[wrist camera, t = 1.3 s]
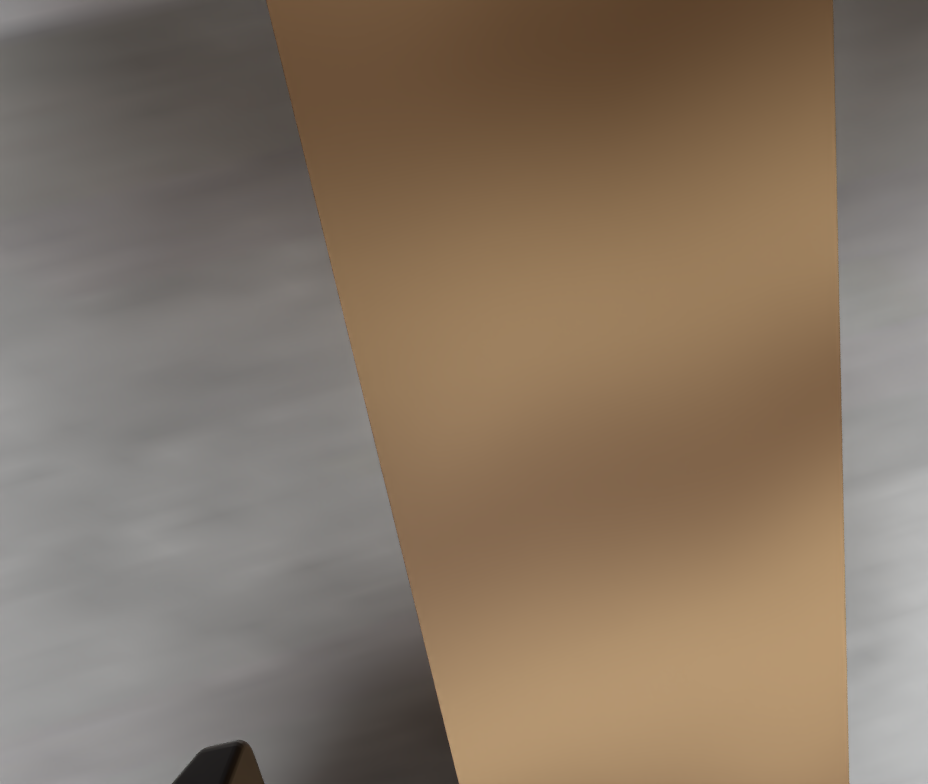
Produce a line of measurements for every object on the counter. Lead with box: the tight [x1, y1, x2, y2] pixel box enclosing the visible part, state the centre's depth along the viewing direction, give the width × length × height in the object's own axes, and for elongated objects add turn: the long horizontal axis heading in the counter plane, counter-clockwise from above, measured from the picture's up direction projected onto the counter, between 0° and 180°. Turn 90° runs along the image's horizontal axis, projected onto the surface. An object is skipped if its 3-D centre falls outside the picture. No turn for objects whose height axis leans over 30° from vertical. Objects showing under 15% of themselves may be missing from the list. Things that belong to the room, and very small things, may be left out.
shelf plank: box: [266, 0, 849, 784], centre depth 13 cm, size 16×6×5 cm, turn 10°
